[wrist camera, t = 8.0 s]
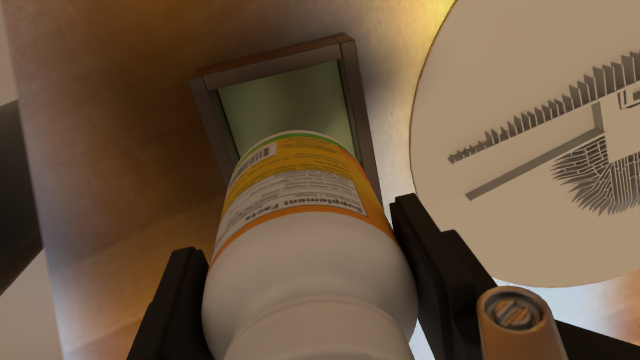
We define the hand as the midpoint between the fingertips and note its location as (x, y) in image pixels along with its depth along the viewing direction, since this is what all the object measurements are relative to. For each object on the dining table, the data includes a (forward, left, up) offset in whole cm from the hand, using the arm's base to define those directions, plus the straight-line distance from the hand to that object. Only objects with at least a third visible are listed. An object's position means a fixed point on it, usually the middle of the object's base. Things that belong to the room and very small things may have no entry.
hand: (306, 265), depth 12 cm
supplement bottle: (0, 0, -5) cm, 5 cm away
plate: (+21, -5, -14) cm, 26 cm away
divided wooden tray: (0, -4, -14) cm, 15 cm away
